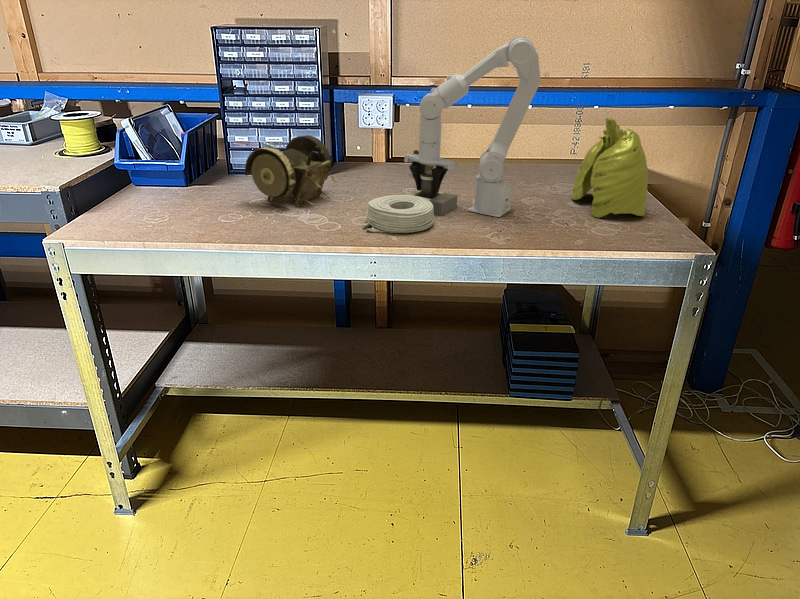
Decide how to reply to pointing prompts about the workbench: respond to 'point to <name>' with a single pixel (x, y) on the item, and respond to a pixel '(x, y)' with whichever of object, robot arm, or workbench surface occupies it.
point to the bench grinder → (291, 170)
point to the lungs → (614, 173)
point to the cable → (399, 214)
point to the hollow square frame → (440, 201)
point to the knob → (427, 185)
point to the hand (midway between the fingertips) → (427, 191)
